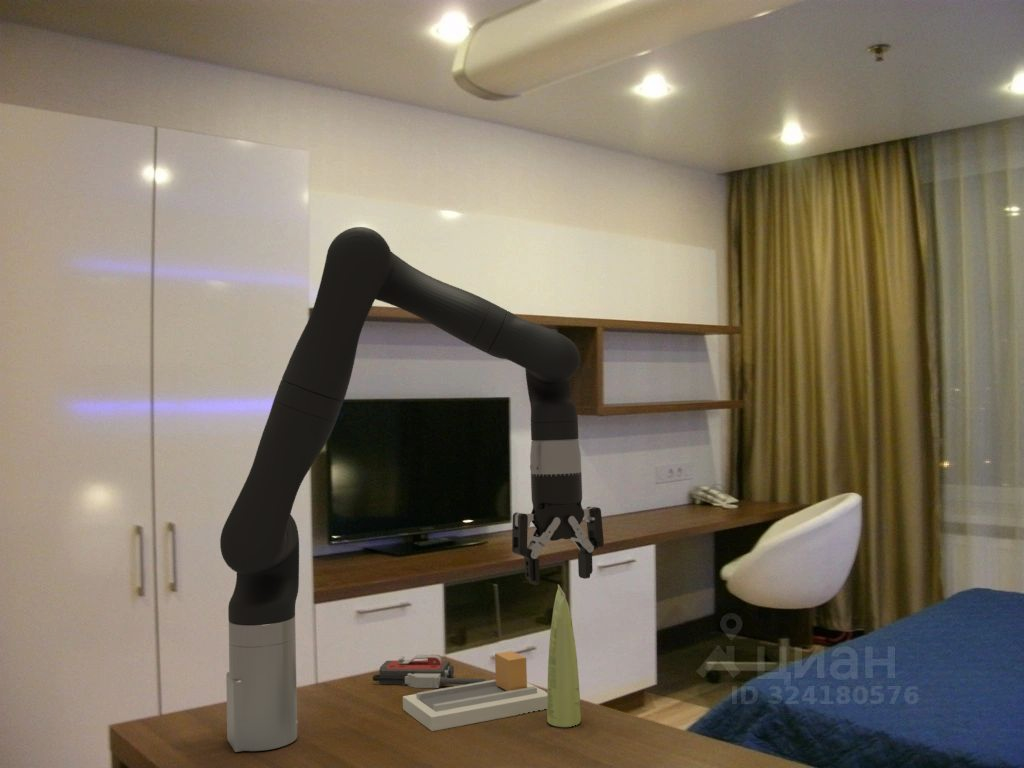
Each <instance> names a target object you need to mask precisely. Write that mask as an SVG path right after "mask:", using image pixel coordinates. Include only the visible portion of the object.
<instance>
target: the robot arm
mask: <svg viewBox="0 0 1024 768" xmlns="http://www.w3.org/2000/svg"><path fill="white" fill-rule="evenodd" d="M375 300H376V301H379V302H383V303H385V304H388V305H391V306H394V307H396V308H398V309H401V310H403V311H406V312H408V313H410V314H412V315H414V316H417V317H418V318H421V320H422V319H423V320H424V321H426V322H428V323H429V324H431V325H433V326H435V327H437V328H438V329H440V330H441V331H443V332H445V333H448V334H449V335H451V336H452V337H454V338H456V339H458V340H460V341H461V342H463V343H465V344H467V345H470V346H472V347H473V348H475V349H477V350H479V351H481V352H483V353H486V354H487V355H488V356H492V357H495V358H496V359H497V358H498V359H501V360H508V361H509V362H512V363H514V364H516V365H518V366H520V367H522V368H524V369H525V370H524V371H525V379H526V387H527V393H528V400H529V403H530V404H529V405H530V439H531V442H530V443H531V444H530V455H529V457H530V458H529V460H530V463H529V464H530V465H529V469H530V489H531V491H530V492H531V502H532V511H531V513H521V512H517V511H516V512H514V513H513V515H512V532H511V533H512V535H511V537H512V541H511V551H512V553H513V554H516V555H519V556H521V557H523V558H524V569H525V573H524V574H525V579H526V580H527V581H528V583H529V584H531V585H534V586H535V585H537V586H538V585H540V583H541V580H540V579H541V578H540V577H541V575H540V559H539V558H538V557H539V555H540V554H541V551H542V550H543V548H544V547H546V546H547V545H548V543H549V541H551V542H552V541H553V542H554V541H559V540H561V539H563V540H570V541H572V542H573V543H574V544H575V546H576V547H577V549H578V550H579V552H577V566H578V569H577V572H578V577H579V578H581V579H586V580H587V579H590V577H591V575H592V574H593V571H594V570H593V552H594V551H595V550H596V549H598V548H602V547H604V544H605V541H604V529H603V520H602V510H601V508H599V507H597V506H587V507H586V508H583V507H582V500H583V482H582V481H583V478H582V474H583V473H582V454H581V448H580V442H579V441H580V440H579V418H578V417H579V416H578V409H577V407H576V404H575V403H574V402H573V398H572V390H571V389H572V388H571V387H572V386H571V378H572V377H573V376H574V375H575V373H577V371H578V369H579V367H580V365H581V364H580V363H581V355H580V352H579V349H578V347H577V345H576V344H575V343H574V342H573V341H572V339H570V338H568V337H567V336H566V335H564V334H562V333H559V332H558V331H555V330H553V329H551V328H548V327H546V326H543V325H540V324H537V323H535V322H532V321H530V320H527V319H523V318H522V317H519V316H517V315H516V314H515V313H512V312H511V311H509V310H507V309H505V308H504V307H501V306H500V305H498V304H495V303H493V302H491V301H490V300H488V299H486V298H483V297H481V296H479V295H476V294H474V293H472V292H469V291H467V290H465V289H463V288H459V287H458V286H455V285H453V284H452V285H451V284H450V283H446V282H443V281H442V280H439V279H437V278H436V277H432V276H431V275H428V274H427V273H424V272H422V271H421V270H419V269H417V268H416V267H413V266H412V265H411V264H409V263H407V262H406V261H405V260H403V259H402V258H400V257H399V256H398V255H396V254H395V253H394V252H393V251H391V247H390V245H389V244H388V243H387V241H386V240H385V238H384V237H383V236H382V235H381V234H380V233H379V232H377V231H376V230H374V229H372V228H369V227H366V226H364V227H363V226H355V227H351V228H348V229H346V230H343V231H342V232H340V233H339V234H338V235H336V236H335V238H334V239H333V240H332V241H331V243H330V245H329V247H328V249H327V253H326V256H325V262H324V267H323V270H322V275H321V278H320V283H319V287H318V290H317V294H316V298H315V302H314V304H313V308H312V310H311V313H310V316H309V318H308V320H307V323H306V325H305V326H304V329H303V331H302V333H301V334H300V337H299V339H298V340H297V343H296V345H295V347H294V349H293V351H292V353H291V356H290V357H289V361H288V363H287V365H286V368H285V371H284V372H283V375H282V377H281V380H280V382H279V385H278V388H277V391H276V393H275V396H274V398H273V402H272V405H271V409H270V411H269V414H268V418H267V419H266V423H265V425H264V429H263V431H262V434H261V437H260V439H259V443H258V447H257V449H256V454H255V456H254V459H253V462H252V465H251V469H250V470H249V472H248V475H247V478H246V480H245V483H244V484H243V486H242V488H241V490H240V492H239V494H238V497H237V498H236V500H235V502H234V505H233V506H232V508H231V511H230V512H229V515H228V516H227V518H226V520H225V523H224V525H223V527H222V529H221V533H220V539H219V541H220V542H219V543H220V544H219V545H220V551H221V552H220V553H221V557H222V559H223V561H224V562H225V564H226V565H227V566H228V567H229V568H230V569H231V570H232V571H233V572H236V579H235V581H236V582H235V586H234V590H233V592H232V596H230V597H231V598H230V600H229V603H228V608H227V611H228V614H227V616H228V664H229V665H228V668H229V670H228V672H227V673H226V679H225V681H226V682H225V683H226V737H227V738H226V739H227V742H228V744H229V746H230V747H231V748H232V750H233V751H234V753H238V752H261V751H269V750H275V749H278V748H283V747H285V746H288V745H289V744H292V743H293V742H294V741H296V740H297V738H298V705H297V704H298V700H297V698H298V695H297V687H298V686H297V650H296V649H297V648H296V647H297V646H296V645H297V643H296V641H297V640H296V639H297V638H296V637H297V636H296V635H297V634H296V603H297V598H298V594H299V585H300V538H299V537H300V536H299V530H298V529H299V528H298V525H297V522H296V520H295V519H294V517H293V515H292V514H291V513H292V509H293V506H294V503H295V500H296V498H297V494H298V492H299V489H300V487H301V485H302V483H303V481H304V479H305V477H306V475H307V474H308V472H309V471H310V470H311V468H312V466H313V465H314V463H315V461H316V460H317V458H318V457H319V455H320V454H321V452H322V450H323V449H324V447H325V445H326V444H327V442H328V440H329V438H330V436H331V434H332V432H333V430H334V428H335V425H336V423H337V420H338V419H339V418H338V417H339V415H340V412H341V409H342V407H343V404H344V401H345V398H346V395H347V391H348V388H349V385H350V381H351V378H352V374H353V369H354V366H355V365H354V364H355V360H356V355H357V350H358V344H359V340H360V336H361V334H362V333H361V332H362V330H363V327H364V325H365V322H366V320H367V319H368V318H367V317H368V315H369V313H370V311H371V309H372V306H373V305H374V302H375ZM583 520H584V521H585V522H586V528H587V529H586V530H587V533H586V532H585V530H584V529H583V528H582V527H581V523H582V522H583ZM531 523H532V525H534V527H535V528H534V529H533V531H532V533H531V534H530V537H529V539H528V529H529V528H530V526H531Z"/></svg>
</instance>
